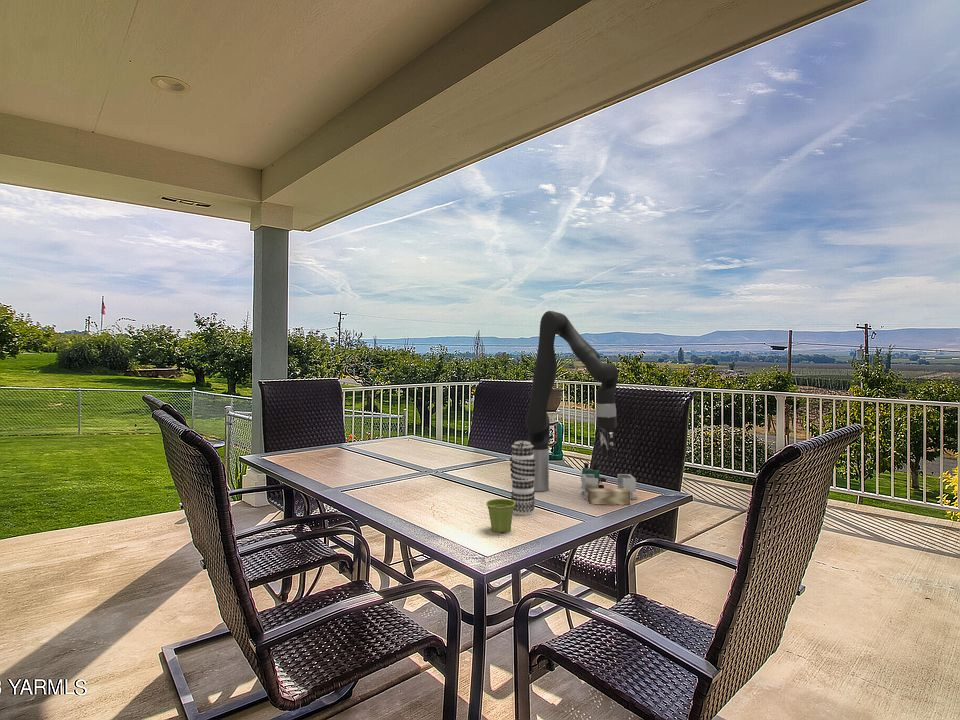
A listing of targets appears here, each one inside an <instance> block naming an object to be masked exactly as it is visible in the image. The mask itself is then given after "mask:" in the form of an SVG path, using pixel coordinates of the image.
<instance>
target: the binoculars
mask: <svg viewBox="0 0 960 720" xmlns="http://www.w3.org/2000/svg"><path fill="white" fill-rule="evenodd" d="M589 466H590V464H589V463H588V462H583V467H582V470H581V475H582V474H594V475H595V478H598V489H605V488H604V486H605V485H604V484H601V483H603V482H604V483H606V482H607V478H605V477H601V476H600V470H599V469H598V466H599V464H593V465H592V468H590V467H589ZM580 482H582V476H580ZM581 488H582V489H583V487H582V486H581Z"/></svg>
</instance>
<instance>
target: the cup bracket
mask: <svg viewBox="0 0 960 720" xmlns="http://www.w3.org/2000/svg"><path fill="white" fill-rule="evenodd" d="M581 477H582V481H581V488H582V487H583V488H582V489H583V490H582V491H581V492H580V495H581V496H582V495H583V496H582V497H583V499H584V498H585V499H584V500H588V488H589V489H599V488H598V485H599V484H598V478H595V475H594V474H582V473H581ZM636 479H637V478H635V477H634V476H633V475H632V474H630V473H617V489H625V488H627V489H628V490H629V491H630V499H638V498H637V496H636V495H635V494H634V493H637V480H636Z"/></svg>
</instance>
